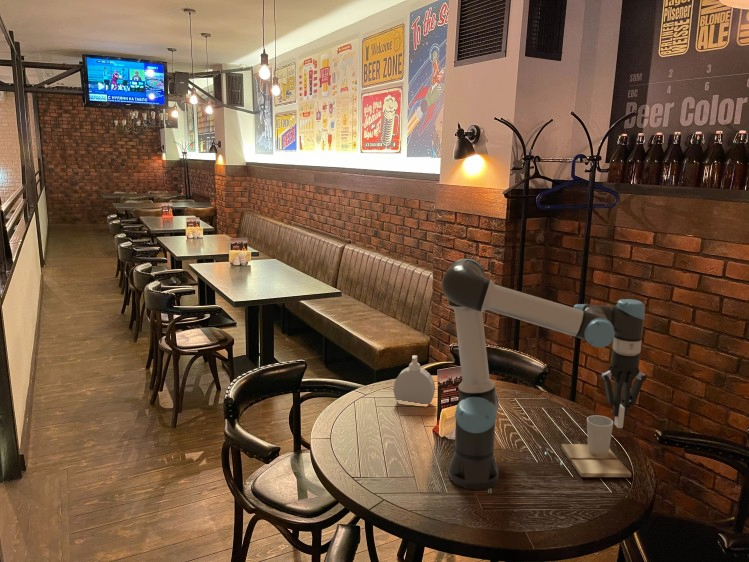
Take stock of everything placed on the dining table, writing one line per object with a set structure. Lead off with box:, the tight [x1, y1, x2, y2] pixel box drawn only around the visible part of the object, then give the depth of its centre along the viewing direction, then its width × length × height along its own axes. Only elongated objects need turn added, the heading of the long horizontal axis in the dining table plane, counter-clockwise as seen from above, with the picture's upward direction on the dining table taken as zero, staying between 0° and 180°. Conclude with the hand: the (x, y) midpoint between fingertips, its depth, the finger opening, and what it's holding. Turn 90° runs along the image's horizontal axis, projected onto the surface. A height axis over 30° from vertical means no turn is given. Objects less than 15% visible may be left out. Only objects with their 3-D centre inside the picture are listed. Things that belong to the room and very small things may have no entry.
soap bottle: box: [392, 354, 436, 406], centre depth 220 cm, size 16×5×20 cm, turn 75°
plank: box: [570, 459, 632, 478], centre depth 173 cm, size 15×9×1 cm, turn 89°
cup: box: [586, 414, 614, 457], centre depth 182 cm, size 8×8×12 cm
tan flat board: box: [561, 443, 619, 463], centre depth 183 cm, size 15×9×1 cm, turn 89°
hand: (618, 425), depth 169 cm, fingers closed
